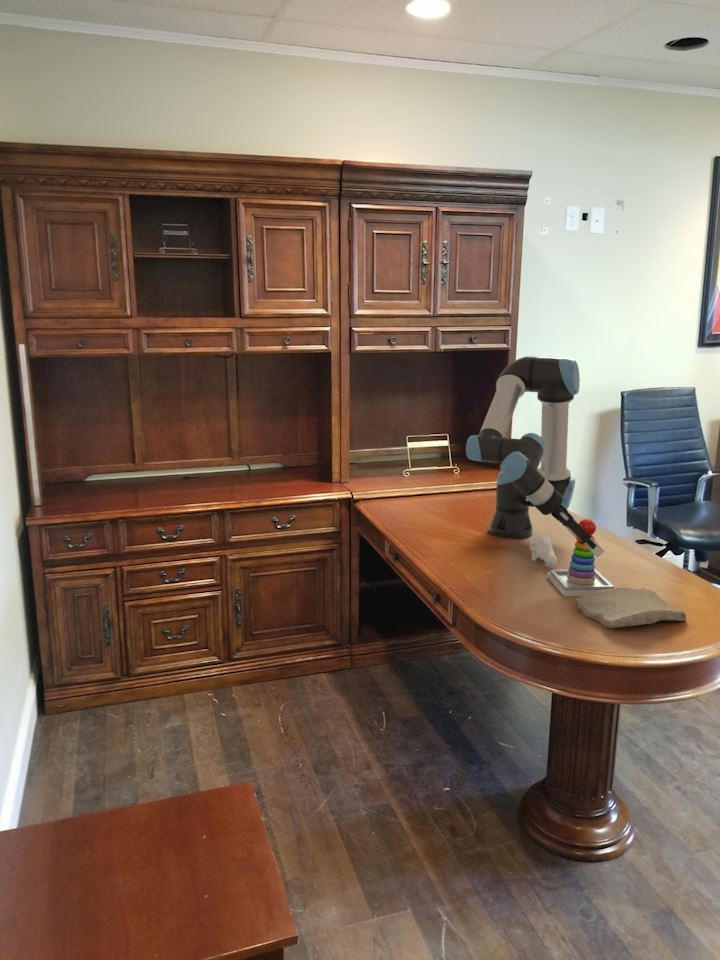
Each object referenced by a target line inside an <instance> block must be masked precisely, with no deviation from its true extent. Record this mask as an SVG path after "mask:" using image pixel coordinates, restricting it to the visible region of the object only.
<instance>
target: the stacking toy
mask: <svg viewBox="0 0 720 960" xmlns="http://www.w3.org/2000/svg"><path fill="white" fill-rule="evenodd" d="M578 524H579V525H580V526H581V527H582V528H583V529H584V530H585V531H586V532H587V533H588V534H589V535H591V537H592V538H593V539H594V541H595V537H594V536H593V535H594V534H595V532H596V531H597V525H596V523H595V522H594V521H593V520H592V519H588V518H583V519H582V520H580V521H579V522H578ZM575 539H576V542H575V543H574V546H575V547H574V549H573V553H572V555H571V557H570V559H571V560H570V561H569V567H568V569H567V570H568V571H569V573H568V574H567V578H568V580H569V581H571V582H573V583H576V584H581V585H588V584H592V583H594V581H595V576H594V575H595V570H594V569H595V567H596V564H595V559H596V558H595V555H594V554H593V553H592V552H591V551H590V550H589V549H588V548H587V547H586V545H585V544H584V543H583V544H581V543H580V542H581V539H580V538H579V537H578V536H577V537H576V538H575ZM595 542H596V541H595Z"/></svg>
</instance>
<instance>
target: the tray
mask: <svg viewBox="0 0 720 960" xmlns="http://www.w3.org/2000/svg"><path fill="white" fill-rule="evenodd" d="M594 570H595V575H594V576H595V581H594V583H592V584H588V585H581V584H576V583H573V582H571V581H569V580H568V578H567V574H568V573H569V571H568V569H552V570H551V569H550V570H549V572H547V578H548V580H549V581H550V582H551V583H552V585H554V586H555V588H556V589H557V590H558V591H559V592H560V594H562V596H563V597H582V596H585V595H589V594H593V593H595V592H598V591H600V590H603V589H610V588H612V589H615V586H614V585H613V584H612V583H611V582H610V581H609V580H608V579H607V578H606V577H605V576H603V575H602V573H600V572H599V571H598V570H597V569H595V568H594Z"/></svg>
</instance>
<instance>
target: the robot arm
mask: <svg viewBox="0 0 720 960" xmlns="http://www.w3.org/2000/svg"><path fill="white" fill-rule="evenodd" d="M580 379H581V377H580V369H579V364H578V362H577V361H576V359H574V358H573V357H564V356H533V355H529V356H523V357H520V358H517V359H515V360H514V361H513V362H511V363H510V364H508V365H507V366H506V367H505V368H504V369H503V370H502V371H501V373H500V374H499V376H498V379H497V380H496V384H495V388H496V391H495V393H494V396H493V398H492V401H491V404H490V406H489V408H488V411H487V413H486V416H485V418H484V421H483V423H482V426H481V428H480V431H479V434H474V435H470V436H469V437H468V438H467V440H466V445H465V453H466V457H467V458H468V460H471V461H476V462H483V463H484V462H485V463H494V464H495V463H497V464H500V465H499V467H500V468H499V469H500V471H499V472H498V474H497V479H496V480H497V481H496V495H495V512H494V513H493V517H492V519H491V522H490V524H489V532H490V533H491V534H492V535H495V536H497V537H501V538H505V539H506V538H509V539H523V538H529V537H530V536H532V535H533V525H532V520H531V517H530V514H529V513H530V512H529V509H530V507H531V508H535V509H536V510H537V511H539V513H541V514H542V515H543V516H548V515H551V516H552V517H553V519H555V520H556V521H557V522H558V521H559V523H560V524H562V526H564V527H565V529H566V530H567V531H568V532H569V533H570V534H571V535H572V536H573V537H574V538H575V539H576V537H577V536H578V537H579V538H580V539H581V542H580V543H581V544H583V543H584V544H585V545H586V547H587V548H588V549H589V550H590V551H591V552H592V553H593V554H594V557H596V558H597V559H598V558H599V557H601V555H602V554H604V553H605V550H604V549H603V548H602V547H601V545H599V543H598V542H596V541H594V539H595V538H594V539H593V538H592V537H591V535H589V534H588V533H587V532H586V531H585V530H584V529H583V528H582V527H581V526H580V525H579V522H577V521H576V519H574V517H573V516H572V514H571V513H569V511H568V508H569V507H570V505H571V502H572V499H573V494H574V491H575V485H576V478H575V477H573V476H571V474H572V473H571V470H569V469H568V468H567V462H568V461H567V459H568V458H567V457H568V432H569V431H568V429H569V408H570V407H569V404H570V403H571V402H572V401H573V400H574V399H575V396H576V395H578V394H579V391H580V381H581V380H580ZM526 392H528V393H536V395H537V396H536V397H537V398H536V399H537V400H538V401H539V402H541V429H540V430H541V434H537V433H535V432H534V433H533V432H529V433H525V434H523V435H522V436H521V438H509V437H506V434H507V432H508V429H509V427H510V425H511V424H510V423H511V420H512V418H513V416H514V412H515V410H516V408H517V405H518V402H519V400H520V398H521V397H522V396H524V394H525V393H526ZM540 435H541V436H540ZM539 466H540V467H539Z"/></svg>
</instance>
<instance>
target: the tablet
mask: <svg viewBox="0 0 720 960" xmlns="http://www.w3.org/2000/svg"><path fill="white" fill-rule="evenodd" d="M575 603H576V606H577V608H578V609H579V610H580V612H582V614H583V615H584V616H585V617H586V618H589V619H592V620H593V621H596V622H598V623H600V624H602V626H604V627H605V628H608V629H617V628H624V627H633V626H641V625H651V624H654V623H656V622H660V621H676V622H677V621H678V622H686V621H687V614H686V613H685V611H683V610H680V609H676V608H675V607H673V606H672V605H669V604H668V603H667V602H666V601H665V600H664V599H662V598H661V597H660V596H659V595H658V594H657V593H656V591H652V590H651V589H646V588H644V587H643V588H638V589H637V588H632V587H628V586H627V587H618V588H614V589H612V588H610V589H603V590H600V591H598V592H595V593H593V594H589V595H585V596H579V597H578V598H576V599H575Z"/></svg>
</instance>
